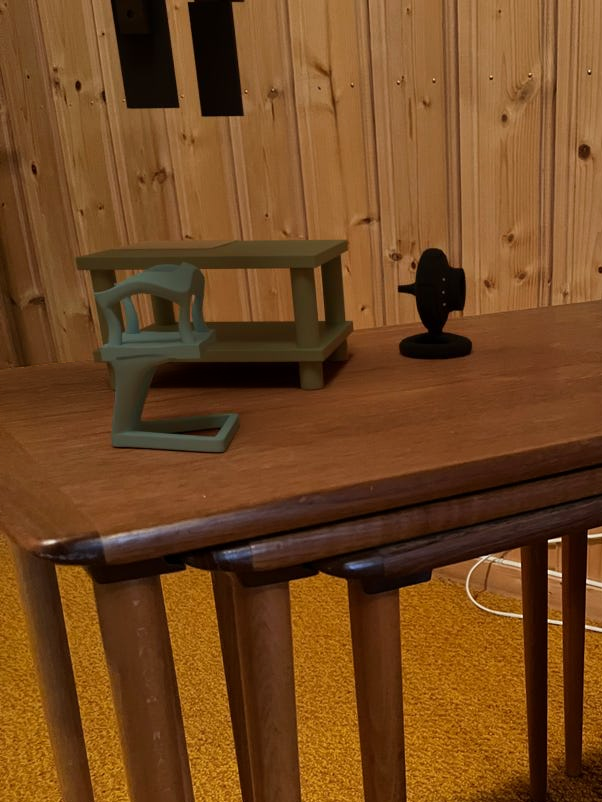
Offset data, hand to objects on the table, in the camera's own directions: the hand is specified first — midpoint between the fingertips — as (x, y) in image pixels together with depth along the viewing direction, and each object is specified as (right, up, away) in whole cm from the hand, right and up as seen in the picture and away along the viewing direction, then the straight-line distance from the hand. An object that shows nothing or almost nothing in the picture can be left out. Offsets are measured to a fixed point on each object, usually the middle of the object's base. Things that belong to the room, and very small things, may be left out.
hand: (191, 113), depth 60 cm
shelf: (-5, -7, +32) cm, 33 cm away
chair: (-4, -18, +11) cm, 21 cm away
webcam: (+13, -3, +40) cm, 42 cm away
